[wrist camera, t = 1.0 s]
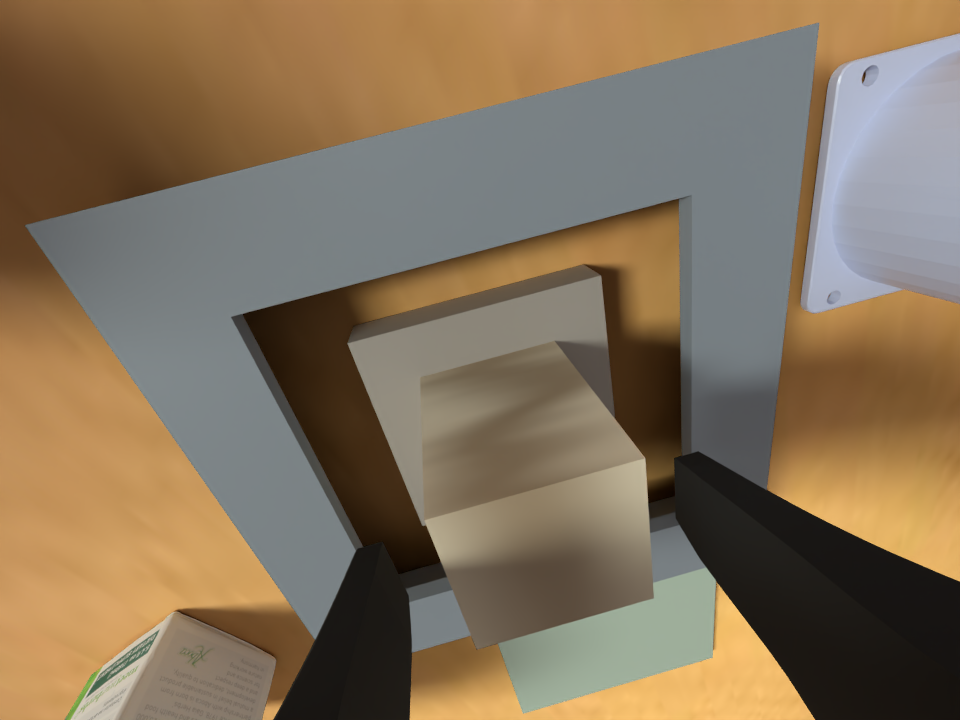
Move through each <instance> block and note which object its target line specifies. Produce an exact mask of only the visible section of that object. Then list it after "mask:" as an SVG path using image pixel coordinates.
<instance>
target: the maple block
mask: <svg viewBox="0 0 960 720" xmlns="http://www.w3.org/2000/svg"><path fill="white" fill-rule="evenodd" d="M420 390H421V425H422V459H423V494H424V521H425V523H426V526H427V528H428V531H429V533H430V536H431V538H432V541H433V543H434V546H435V548H436V551H437V553H438V556H439V558H440V560H441V563H442V565H443V568H444V570H445V573H446V575H447V578H448V580H449V583H450V585H451V588H452V590H453V593H454V595H455V597H456V600H457V602H458V605H459V607H460V610H461V612H462V615H463V617H464V620H465V622H466V625H467V627H468V630H469V632H470V634H471V637H472V639H473V642H474V644H475V647H476V649H481V648H484V647H488V646H491V645H495V644H498V643H501V642H505V641H508V640H512V639H515V638H519V637H522V636H526V635H529V634H532V633H536V632H539V631H543V630H546V629H550V628H553V627H557V626H560V625H563V624H567V623H570V622H574V621H577V620H581V619H584V618H588V617H591V616H594V615H598V614H601V613H605V612H608V611H612V610H615V609H619V608H622V607H625V606H629V605H632V604H636V603H639V602H643V601H646V600H650V599H653V598H654V590H653V574H652V558H651V542H650V525H649V509H648V493H647V477H646V460H645V457H644V456H643V455H642V453H641V452H640V451H639V449H638V448H637V447H636V445H635V444H634V443H633V442H632V440H631V439H630V438H629V436H628V435H627V434H626V433H625V431H624V430H623V429H622V427H621V426H620V425H619V424H618V422H617V421H616V420H615V418H614V417H613V416H612V414H611V413H610V412H609V411H608V409H607V408H606V407H605V405H604V404H603V403H602V402H601V400H600V399H599V398H598V396H597V395H596V394H595V393H594V391H593V390H592V389H591V387H590V386H589V385H588V384H587V382H586V381H585V380H584V378H583V377H582V376H581V374H580V373H579V372H578V371H577V369H576V368H575V367H574V365H573V364H572V363H571V362H570V360H569V359H568V358H567V356H566V355H565V354H564V353H563V351H562V350H561V349H560V347H559V346H558V345H557V343H556V342H555V341H552V342H549V343H545V344H541V345H538V346H534V347H530V348H526V349H523V350H519V351H515V352H512V353H508V354H504V355H501V356H497V357H493V358H490V359H486V360H482V361H479V362H475V363H471V364H468V365H464V366H460V367H456V368H453V369H449V370H445V371H442V372H438V373H434V374H431V375H427V376H423V377H420Z"/></svg>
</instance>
